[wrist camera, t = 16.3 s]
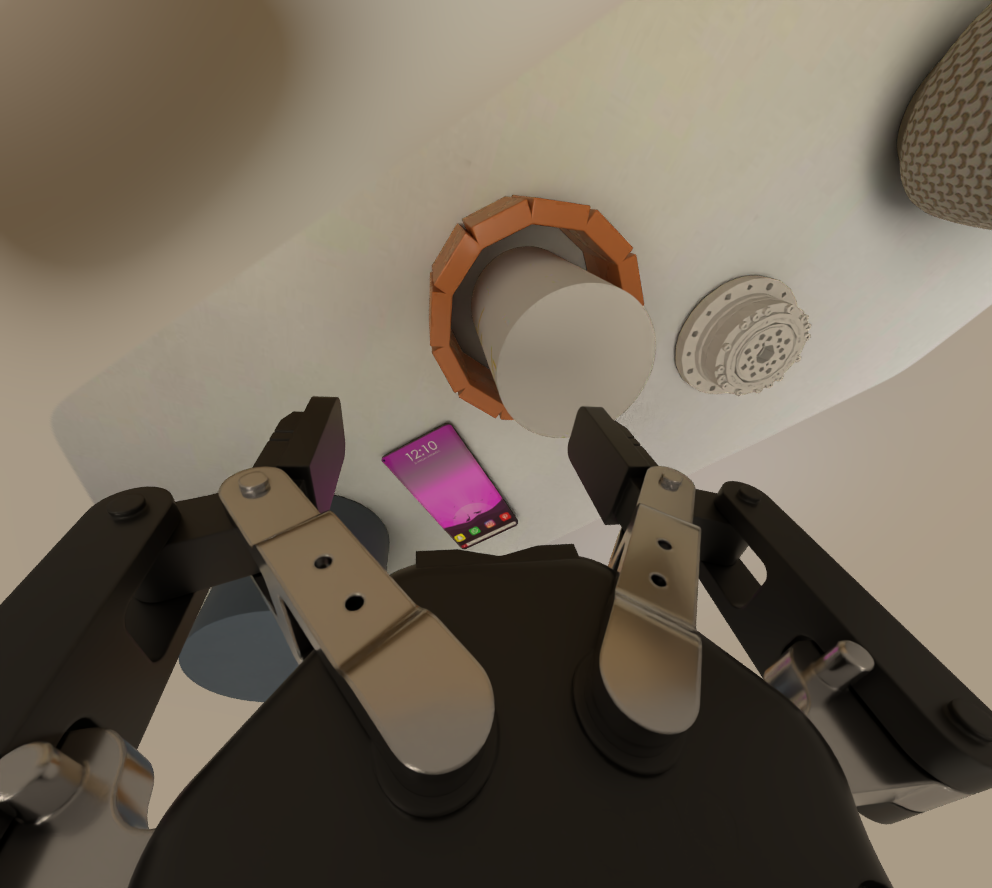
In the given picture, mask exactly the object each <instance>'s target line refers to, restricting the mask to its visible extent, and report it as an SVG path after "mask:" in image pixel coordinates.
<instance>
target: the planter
mask: <svg viewBox="0 0 992 888" xmlns="http://www.w3.org/2000/svg"><path fill="white" fill-rule="evenodd" d="M897 153H898V158H899V161H900V173H901V181H902V184H903V187H904V190H905V192H906V194H907V196H908V197H909V199H910V200H911V202H912V203H913V204H915V205H916V206H917V207H919V208H920V209H921V210H923V211H924V212H925V213H928V214H930V215H932V216H935V217H938V218H941V219H944V220H947V221H951V222H954V223H958V224H963V225H967V226H972V227H978V228H983V229H989V230H992V3H991V4H990V5H989V6H988V7H987V8H986V9H985V10H984V11H983V12H982V13H981V14H980V15H979V16H978V17H977V18H976V19H975V20H974V21H973V22H972V23H971V24H970V25H969V26H968V27H967V29H966V30H965V31H964V32H963V33H962V34H961V36H960V37H959V38H958V39H957V40H956V42H955V43H954V44H953V45H952V47H951V48H950V49H949V50H948V52H947V53H946V55H945V56H944V57H943V58H942V59H941V60H940V62H939V63H938V64H937V65H936V66H935V67H934V68H933V69H932V70H931V72H930V73H929V74H928V75H927V76H926V78H925V79H924V80H923V82H922V83H921V85H920V86H919V87H918V89H917V91H916V92H915V94H914V96H913V97H912V99H911V101H910V103H909V105H908V107H907V109H906V111H905V114H904V116H903V119H902V122H901V125H900V128H899V133H898V138H897Z"/></svg>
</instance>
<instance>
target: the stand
mask: <svg viewBox="0 0 992 888" xmlns="http://www.w3.org/2000/svg"><path fill="white" fill-rule="evenodd" d="M330 511H332V512H333V513H334V514H335V515H336V516H337V517H338V518H339V519H340V520H341V521H342V522H343V524H344V525H345V526H346V527H347V528H348V529H349V530H350V531H351V532H352V534H353V535H354V536H355V537H356V538H357V539H358V540H359V541H360V543H361V544H362V545H363V546H364V547H365V548H366V549H367V550H368V551H369V553H370V554H371V555H372V556H373V557H374V558H375V559H376V560H377V562H378V563H379V564H380V565H381V566H382V567H383V568H384V569H385V571H386V572H387V562H388V552H389V536H388V532H387V530H386V528H385V526H384V524H383V523H382V521H381V520H380V519H379V518H378V517H377V516H376V515H375V514H374V513H373V512H371V511H370V510H369V509H367V508H366V507H364V506H362V505H361V504H358V503H356V502H354V501H352V500H349V499H346V498H343V497H339V496H335V495H334V496H333V499H332V503H331V506H330ZM179 664H180V666H181V668H182V670H183V672H184V673H185V674H186V675H187V677H189V678H190V679H191V680H192V681H193V682H195V683H196V684H198V685H199V686H201V687H203V688H205V689H207V690H209V691H212V692H215V693H217V694H220V695H223V696H227V697H231V698H236V699H241V700H247V701H256V702H265V701H266V700H267V699H268V698H269V697H270V696H271V695H272V693H273V692H274V691H275V690H276V689H277V688H278V687H279V686H280V685H281V684H282V683H283V682H284V681H285V680H286V679H287V677H288V676H289V675H290V674H291V673H292V672H293V671H294V670H295V669H296V668H297V667H298V666H299V664H298V663H297V661H296V659H295V657H294V655H293V653H292V651H291V650H290V647H289V645H288V643H287V641H286V639H285V637H284V635H283V633H282V631H281V629H280V627H279V625H278V623H277V622H276V620H275V618H274V616H273V615H272V613H271V611H270V610H269V608H268V606H267V604H266V603H265V601H264V599H263V598H262V596H261V594H260V592H259V591H258V589H257V587H256V586H255V584H254V582H253V581H252V579H251V577H250V576H247V577H244V578H241V579H237V580H234V581H231V582H227V583H224V584H220V585H217V586H214V587H212V589H211V591H210V593H209V595H208V597H207V599H206V601H205V602H204V604H203V606H202V608H201V610H200V612H199V614H198V616H197V618H196V620H195V622H194V624H193V626H192V628H191V631H190V633H189V635H188V637H187V639H186V642H185V644H184V646H183V648H182V651H181V653H180V655H179Z"/></svg>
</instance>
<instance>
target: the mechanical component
mask: <svg viewBox="0 0 992 888" xmlns="http://www.w3.org/2000/svg"><path fill="white" fill-rule="evenodd" d="M808 318H809V315H806V314H804V311H803V310H801V309H800V308H798V307H797V301H796V299H795V297H794V295H793V293H792V291H791V289H790V288H789V287H788V286H786V285H785V284H784V283H783V282H781V281H780V280H776V279H772V278H767V277H763V276H758V275H755V276H744V277H741V278H737V279H734V280H731V281H729V282H727V283H725V284H723V285H721V286H720V287H719V288H717V289H716V290H715V291H713V292H712V293H710V294H709V295H708V296H706V297H705V298H704V299H703V300H702V301H701V303H700V304H699V305H698V306H697V307H696V308H695V309H694V310H693V311H692V313H691V314H690V316H689V317H688V319H687V320H686V322H685V324H684V326H683V328H682V330H681V332H680V334H679V337H678V341H677V345H676V366H677V369H678V371H679V373H680V376H681V377H682V378H683V379H684V381H685V382H686V383H688V384H689V385H690V386H692V387H694V388H695V389H697V390H698V391H700V392H704V393H707V394H722V393H727V392H728V393H730V394H735V395H737V396H740V395H741V394H744V395H745V394H748V393H752V392H756V393H760V392H761V391H762V389H763V388H765V387H766V388H771V387H772V386H773V382H774V381H781V380H782V379H783V377H784V374H785V372H786V371H787V370H788V369H789V368H790V367H791V366H792V365H793V363H794V362H796V363H797V362H799V361H800V360H801V356H799V355H800V353H801V351H802V349H803V347H804V345H805V342H806V341H807V340H809V338H810V337H811V335H810V334H809V333H808V330H809V329H810V328H811V324H810V323H808V321H807V320H808Z"/></svg>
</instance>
